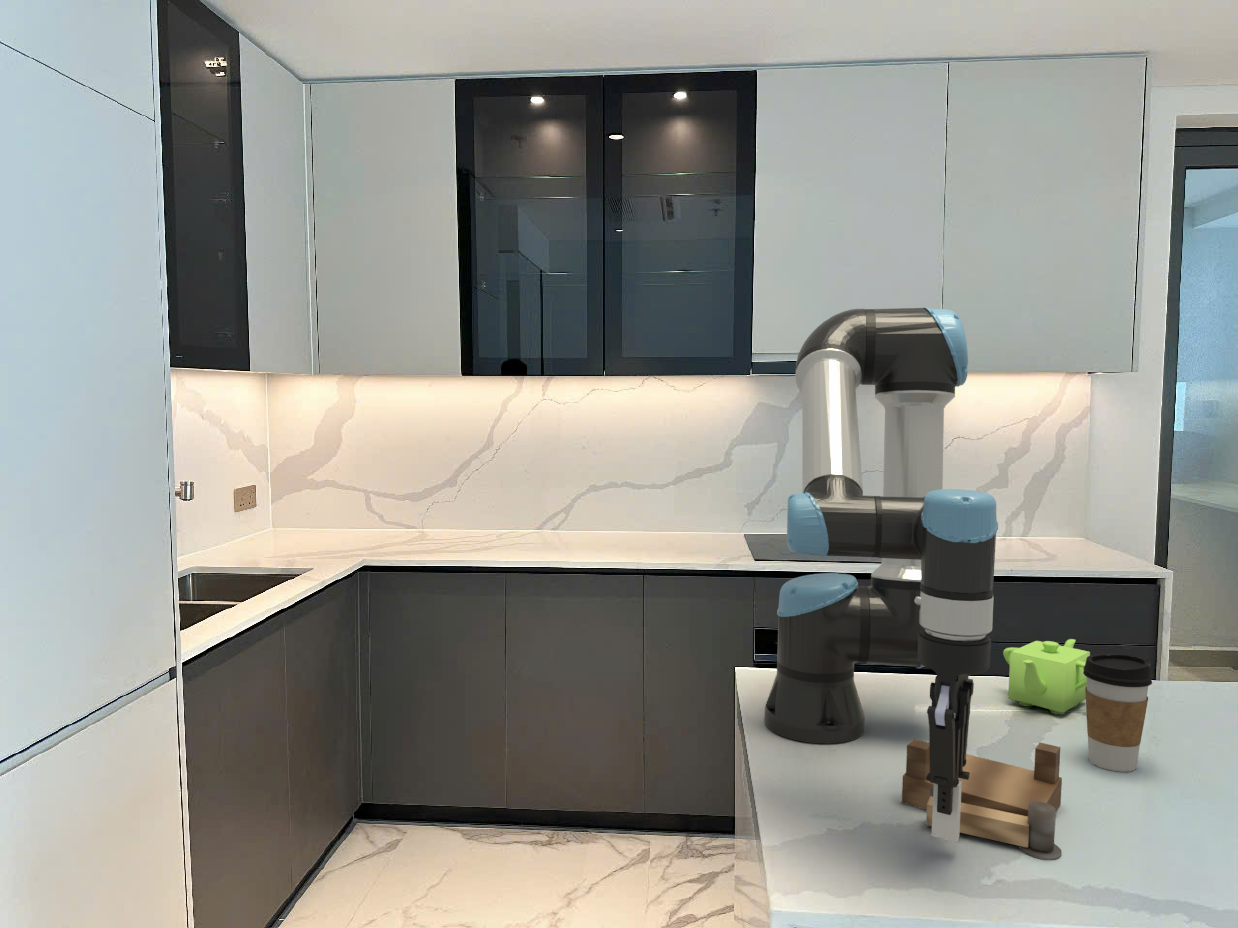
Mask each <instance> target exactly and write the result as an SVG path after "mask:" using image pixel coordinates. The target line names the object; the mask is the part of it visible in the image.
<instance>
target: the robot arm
mask: <svg viewBox="0 0 1238 928" xmlns="http://www.w3.org/2000/svg"><path fill="white" fill-rule="evenodd" d="M968 354H969V353H968V342H967V337H966V331H965V329H964V326H963V323H962V320H961V319H960V316H959V314H957V313H956V312H955V311H953V310H951V309H949V308H929V307H927V306H925V307H913V308H912V307H911V308H910V307H909V308H908V307H907V308H906V307H905V308H903V307H901V308H853V309H848V310H844V311H842V312H839V313H837V314H835V315H833V316H831V317H829V318H828V319H826V320H824V321H823V322H822V323H821V324H819V325H818V326H816V328H815V329H814V330H813V331H812V332H811V333H810V335H808V337H807V338H806V339H805V341H804V343H803V344H802V346H801V349H800V350H799V351H798V354H797V358H796V362H795V382H796V385H797V388H798V389H799V391H800V392H801V393H802V395H801V398H802V399H801V400H802V403H801V404H802V406H801V407H802V410H801V411H802V415H801V416H802V419H801V420H802V422H801V423H802V432H801V433H802V434H801V435H802V454H801V455H802V458H801V459H802V466H801V467H802V477H801V478H802V479H801V481H802V484H801V485H802V491H801V492H800V493H793V494H791V495H790V496H788V498H787V513H786V515H787V517H786V528H787V529H786V546H787V547H788V550H789V551H790V552H792V553H794V554H800V555H809V556H817V557H851V558H852V557H855V558H859V557H860V558H877V559H881V563H880V565H879V566H878V567H877V568H876V569H875V570H874V571H872V572H871V575H870V585H869V586H868V585H866V586H865V585H859V582H858V581H857V578H856V577H855V576H854V575H851V574H847V573H838V572H828V573H827V572H826V573H814V574H806V575H801V576H798V577H794V578H792V579H789V580H788V581H786V582H785V583H784V584H783V585H782V586H781V587H780V590H779V598H778V608H777V610H776V614H777V616H778V626H777V627H778V630H777V632H778V633H777V657H776V659H777V661H776V674H775V678H774V680H773V684H772V685H771V689H770V691H769V694H768V697H767V700H766V702H765V705H764V720H763V721H764V725H765V726H766V728H768V729H769V730H771V731H772V732H773V733H775V734H776V735H779V736H782V737H784V738H788V739H790V740H795V741H798V742H799V741H800V742H803V743H805V742H806V743H813V744H840V743H846V742H849V741H850V742H851V741H853V740H855V739H857V738H859V737H861V736H862V735H863V734H864V731H865V714H864V709H863V707H862V703H861V700H860V697H859V693H858V689H857V687H856V683H855V677H854V676H855V664H868V665H869V664H870V665H872V664H873V665H886V666H887V665H889V666H904V667H915V668H916V669H922V668H926V669H931V670H932V671H933V672H934V673H935V674H936V676H935V679H934V682H933V681H932V682H931V683H930V686H929V699H930V700H931V705H928V707H927V709H926V714H927V718H928V719H927V720H928V729H929V730H928V732H929V733H928V734H929V735H928V736H929V739H928V740H929V741H928V743H929V744H930V773H928V775H927V777H926V780H927V781H930V783H934V789H933V813H932V826H931V836H932V837H935V838H938V839H942V840H947V841H949V842H953V843H957V842H958V840H959V839H960V811H961V789H962V781H960V780H958V778H961V779H966V780H968V779H969V774H970V772H965V771H963V767H964V766H965V765H966V761H967V760H966V754H967V750H968V749H967V747H968V736H969V725H970V723H969V722H970V715H971V700H972V696H973V694H974V688H975V687H974V685H975V683H974V680H973V678H969V676H974V675H975V676H976V675H979V674H980V675H981V674H983V673H985V672H987V671H988V670H989V668H990V666H991V651H992V649H991V648H992V647H991V645H992V639H991V638H990V636H989V635H988V634H990V633H991V632H992V631H993V623H994V621H993V619H994V617H993V615H994V579H995V578H994V575H995V559H996V558H995V557H996V542H997V533H998V530H999V522H998V519H997V517H998V516H997V501H996V499H995V497H994V496H993V495H992V494H990V493H988V492H986V491H985V492H984V491H979V490H974V489H973V490H972V489H960V488H959V489H957V488H956V489H955V488H946V489H945V488H944V489H943V483H944V482H943V479H944V477H943V475H944V473H943V472H944V430H945V429H944V425H945V420H944V419H945V418H944V416H945V408H946V406H947V405H948V404H949V403H950V402H951V401H952V400H953V399H955V397H956V387H961V386H963V385H964V384H965V383H966V381H967V378H968V365H969V355H968ZM860 385H862V386H864V385H865V386H874V398H875V399H876V401H878V402H879V403H880V404H881V406H882V407H883V408H884V433H883V434H884V435H883V436H884V437H883V438H884V439H883V441H884V442H883V443H884V444H883V480H882V481H883V487H882V488H883V489H882V490H883V491H882V495H881V496H880V495H864V494H863V493H864V491H863V488H864V487H863V477H862V476H863V473H862V464H861V463H862V462H861V461H862V459H861V447H860V433H859V422H858V421H859V420H858V417H859V416H858V406H857V405H858V404H857V393H856V392H857V391H856V390H857V389H858V388H859V386H860Z"/></svg>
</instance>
